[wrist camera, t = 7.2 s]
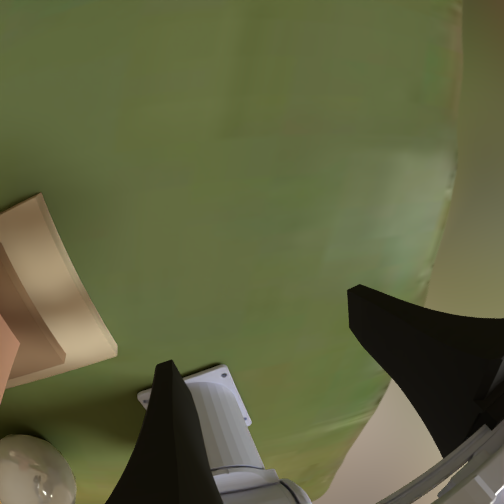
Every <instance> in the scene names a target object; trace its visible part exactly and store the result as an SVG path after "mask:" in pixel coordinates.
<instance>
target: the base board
mask: <svg viewBox="0 0 504 504" xmlns="http://www.w3.org/2000/svg"><path fill="white" fill-rule="evenodd" d="M0 314H1V316H2V318H3V319H4V321H5V322H6V324H7V325H8V327H9V328H10V330H11V331H12V333H13V334H14V335H15V337H16V338H17V340H18V341H19V343H20V346H19V348H18V351H17V354H16V357H15V360H14V362H13V365H12V368H11V371H10V374H9V378H8V381H7V384H6V387H5V389H7V388H11V387H14V386H18V385H22V384H25V383H29V382H33V381H36V380H40V379H43V378H47V377H50V376H54V375H57V374H60V373H64V372H67V371H70V370H74V369H77V368H80V367H84V366H87V365H90V364H93V363H96V362H100V361H103V360H106V359H109V358H112V357H115V356H117V344H116V342H115V341H114V339H113V337H112V336H111V334H110V332H109V331H108V329H107V327H106V326H105V324H104V322H103V320H102V319H101V317H100V315H99V313H98V312H97V310H96V308H95V306H94V305H93V303H92V301H91V299H90V297H89V295H88V293H87V292H86V290H85V288H84V286H83V284H82V282H81V280H80V278H79V276H78V274H77V272H76V270H75V268H74V266H73V264H72V262H71V260H70V258H69V256H68V254H67V252H66V249H65V247H64V245H63V243H62V241H61V239H60V236H59V234H58V232H57V230H56V227H55V225H54V223H53V220H52V218H51V215H50V213H49V211H48V208H47V206H46V203H45V201H44V198H43V195H42V193H39V194H36V195H34V196H32V197H30V198H28V199H26V200H24V201H22V202H20V203H18V204H16V205H15V206H13V207H11V208H9V209H7V210H5V211H3V212H1V213H0Z"/></svg>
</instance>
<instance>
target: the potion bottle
mask: <svg viewBox="0 0 504 504" xmlns="http://www.w3.org/2000/svg"><path fill="white" fill-rule="evenodd" d="M76 489H77V488H76V478H75V476H74V474H73V472H72V470H71V468H70V466H69V464H68V463H67V461H66V460H65V458H64V457H63V455H62V454H61V452H60V451H59V450H57V449H56V448H55V447H54V446H53V445H52V444H50V443H49V442H47V441H45V440H43V439H41V438H39V437H37V436H34V435H15V434H8V435H7V436H5V437H4V438H3V439H1V440H0V502H1V503H2V504H75V499H76Z"/></svg>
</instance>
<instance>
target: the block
mask: <svg viewBox="0 0 504 504" xmlns="http://www.w3.org/2000/svg"><path fill="white" fill-rule="evenodd" d="M19 346H20V343H19V341H18V340H17V338H16V337H15V335H14V334H13V333H12V331H11V330H10V328H9V327H8V325H7V324H6V322H5V321H4V319H3V318H2V316H1V314H0V404H1V401H2V397H3V394H4V390H5V387H6V384H7V381H8V378H9V374H10V371H11V368H12V365H13V362H14V360H15V357H16V354H17V351H18V348H19Z"/></svg>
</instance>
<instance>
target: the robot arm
mask: <svg viewBox="0 0 504 504" xmlns="http://www.w3.org/2000/svg"><path fill="white" fill-rule="evenodd" d="M347 295H348V312H349V328H350V329H351V331H352V332H353V334H354V335H355V337H356V338H357V339H358V341H359V342H360V344H361V345H362V346H363V347H364V348H365V350H366V351H367V352H368V353H369V354H370V355H371V356H372V357H373V358H374V359H375V360H376V361H377V363H378V364H379V365H380V366H381V367H382V368H383V369H384V370H385V371H386V372H387V373H388V374H389V375H390V376H391V378H392V379H393V380H394V381H395V382H396V383H397V384H398V386H399V387H400V388H401V390H402V391H403V392H404V394H405V395H406V397H407V398H408V399H409V401H410V402H411V404H412V405H413V406H414V408H415V410H416V411H417V413H418V414H419V416H420V417H421V419H422V421H423V422H424V424H425V425H426V427H427V429H428V431H429V432H430V434H431V436H432V438H433V440H434V441H435V443H436V445H437V447H438V449H439V451H440V453H441V455H442V457H443V459H442V460H441V461H440V462H439V463H437V464H436V465H435V466H433V467H432V468H430V469H429V470H428V471H426V472H425V473H423V474H422V475H420V476H419V477H418V478H416V479H415V480H413V481H412V482H410V483H409V484H407V485H406V486H404V487H402V488H401V489H399V490H398V491H396V492H394V493H393V494H391V495H389V496H388V497H387V498H385V499H383V500H381V501H379V502H378V503H376V504H411V503H413V502H414V501H416V500H417V499H419V498H420V497H422V496H423V495H425V494H426V493H428V492H429V491H430V490H432V489H433V488H435V487H436V486H437V485H439V484H440V483H441V482H442V481H444V480H445V479H446V478H448V477H449V476H450V475H452V474H453V473H454V472H455V471H457V470H458V469H459V468H460V467H462V465H464V464H465V463H466V462H467V461H468V463H467V464H466V465H465V466H464V467H463V468H462V469H461V470H460V471H458V472H457V473H456V474H455V475H454V476H453V477H452V478H451V480H450V481H449V483H448V484H447V485H446V486H445V487H444V488H443V489H442V490H441V491H440V492H439V493H438V495H437V496H438V497H439V498H438V499H437V500H435V501H434V502H433V503H431V504H504V318H502V319H495V318H475V317H466V316H459V315H453V314H448V313H444V312H439V311H435V310H431V309H428V308H424V307H421V306H418V305H414V304H412V303H409V302H406V301H403V300H400V299H397V298H395V297H392V296H389V295H387V294H384V293H382V292H379V291H377V290H374V289H371V288H369V287H366V286H363V285H360V284H359V285H357V286H355V287H353V288H350V289H348V290H347ZM223 373H225V374H223ZM222 374H223V375H222ZM137 398H138V400H139V401H140V403H141V404H142V405H143V407H144V408H145V409H146V414H145V418H144V421H143V424H142V428H141V431H140V434H139V437H138V440H137V442H136V445H135V448H134V450H133V453H132V455H131V457H130V459H129V462H128V464H127V466H126V468H125V470H124V472H123V474H122V476H121V478H120V480H119V481H118V483H117V485H116V487H115V488H114V490H113V492H112V494H111V495H110V497H109V498H108V500H107V501H106V503H105V504H312V502H311V500H310V498H309V497H308V495H307V494H306V492H305V491H304V490H303V489H302V488H301V487H300V486H298V485H297V484H296V483H294V482H293V481H291V480H289V479H279V478H278V476H277V474H276V471H275V469H268V470H265V467H264V465H263V463H262V461H261V458H260V456H259V454H258V451H257V449H256V447H255V444H254V442H253V440H252V437H251V435H250V432H249V430H248V428H247V426H249V425H251V423H252V422H251V419H250V417H249V415H248V413H247V411H246V408H245V406H244V404H243V402H242V400H241V397H240V395H239V393H238V391H237V388H236V386H235V384H234V381H233V379H232V377H231V375H230V372H229V370H228V368H227V366H226V365H223V364H222V365H218V366H215V367H213V368H210V369H207V370H204V371H201V372H199V373H196V374H193V375H190V376H187V377H184V378H182V376H181V374H180V373H179V371H178V369H177V367H176V366H175V364H174V362H173V360H169V361H166V362H163V363H160V364H157V366H156V368H155V374H154V379H153V384H152V388H150V389H147V390H144V391H141V392H138V394H137Z"/></svg>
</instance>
